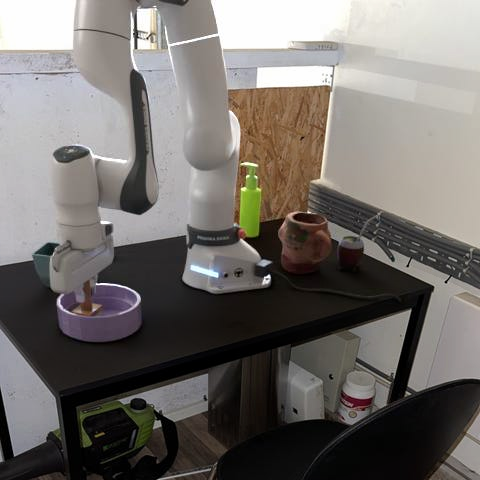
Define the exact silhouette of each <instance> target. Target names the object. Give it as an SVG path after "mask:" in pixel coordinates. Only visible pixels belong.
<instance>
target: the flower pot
mask: <svg viewBox="0 0 480 480" xmlns="http://www.w3.org/2000/svg"><path fill="white" fill-rule="evenodd" d="M57 246H60V244H59V243H58V242H54V241H46V242H45V243H43V244H42V245H41V246H40V247H38V248H37V249H36V250H34V251H33V252H32V253H31V257H32V261H33V264H34V267H35V270H36V271H35V272H36V273H37V275H38V278H39V279H40V281H41V282H42V283H43V284H44V285H45V286H46V287H47V288H50V289H51V285H50V259H51V256H52V255H53V253H54V251H55V248H56V247H57Z"/></svg>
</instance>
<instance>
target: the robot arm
mask: <svg viewBox="0 0 480 480" xmlns="http://www.w3.org/2000/svg"><path fill="white" fill-rule="evenodd" d="M152 9H155V10H156V12H157V13H158V15H159V16H160V18H161V20H162V23H163V26H164V30H165V37H166V42H167V47H168V52H169V57H170V61H171V65H172V71H173V75H174V80H175V87H176V93H177V104H178V114H179V123H180V131H181V139H182V152H183V156H184V158H185V159H186V161H187V162H188V164H189V165H190V166H191V169H190V177H189V178H190V179H189V185H188V222H187V223H186V231H185V233H186V234H185V235H186V237H185V239H186V240H185V241H186V245H187V254H186V260H185V265H184V271H183V274H182V281H183V282H184V283H185V284H186V285H188V286H190V287H192V288H194V289H199V290H203V291H207V293H211V294H215V295H220V294H227V293H235V292H241V291H249V290H257V289H258V290H259V289H266V288H269V287H270V286H271V283H272V277H271V274H275V275H276V276H279V277H280V278H282V279H283V280H285V282H286V283H287V284H288V286H289V287H291V288H293V289H295V290H298V291H305V292H314V293H329V294H335V295H340V296H344V297H349V298H353V299H359V300H367V301H370V300H371V301H373V300H378V299H383V298H393V299H395V300H396V301H397V302H402V299H401V298H400V297H399V296H398V295H395V294H393V293H383V294H378V295H373V296H368V295H367V296H366V295H358V294H353V293H348V292H344V291H339V290H335V289H329V288H305V287H300V286H298V285H295V284H293V283H292V281H290V279H289V278H288V277H287V276H286V275H284V274H282V273H281V272H279V271H277V270H275V269H273V261H271V260H267V259H262V257H261V255H260V254H259V252H258V251H257V250H256V249H255V248H254V247H253V246H252V245H250V244H248V242H247V241H245V240H244V239H246V238H248V237H247V236H246V235H247V233H246V232H245V230H244V229H242V228H241V226H240V224H238V222H235V211H236V209H235V208H236V189H237V181H238V170H239V158H240V148H241V147H240V146H241V125H240V122H239V120H238V118H237V116H236V114H234V113H233V112H232V111H231V110H230V105H229V95H228V94H229V93H228V75H227V74H228V73H227V69H226V62H225V58H224V51H223V46H222V40H221V33H220V29H219V23H218V19H217V16H216V12H215V8H214V4H213V1H212V0H75V5H74V14H73V15H74V17H73V29H72V31H73V33H72V53H73V61H74V65H75V66H76V69H77V71H78V73H79V74H80V75H81V77H82V78H83V79H84V81H85V82H87V84H89V85H90V86H92V87H93V88H94V89H96V90H98V91H100V92H102V93H103V94H105V95H107V96H109V97H110V98H111V99H113V100H114V101H115V102H117V104H118V105H119V106H120V107H121V109H122V111H123V113H124V117H125V125H126V137H127V148H128V159H127V160H124V159H123V160H122V159H115V158H108V157H102V156H98V155H95V154H93V152H92V149H90V148H89V147H87V146H85V145H83V144H68V145H63V146H60V147H59V148H57V149H56V150H54V151H53V152H52V154H51V160H50V184H51V195H52V201H53V202H54V204H55V209H56V210H55V211H56V212H55V217H54V218H55V226H56V227H55V228H56V233H57V235H56V236H57V243H59V244H60V246H57V247H56V248H55V251H54V253H53V255H52V256H51V259H50V285H51V288H50V289H51V290H52V292H53V293H56V294H59V295H61V294H69V293H71V292H72V291H74V293H75V294H76V300H77V302H81V303H83V302H85V301H86V300H87V293H85V292H84V291H83V289H82V288H83V287H84V286H83V283H85V282H86V281H88V280H89V279H90V288H91V296H92V295H94V294H95V293H96V287H95V286H96V284H98V283H97V282H98V278H99V273H100V272H102V271H103V270H105V269H106V268H107V267H109V266H111V265H112V264H113V260H114V259H115V244H114V236H113V233H114V223H112V222H109V221H105V220H102V217H101V216H102V215H101V213H100V211H99V208H100V209H101V208H102V209H107V210H114V211H115V210H116V211H122V212H124V213H128V214H132V215H137V216H141V215H143V214H145V213H147V212H148V211H150V210H151V209H152V208H153V207H154V206H155V205H156V203H157V202H158V198H159V189H160V188H159V179H158V173H157V167H156V163H155V155H154V154H155V153H154V141H153V140H154V139H153V129H152V116H151V107H150V97H149V91H148V90H149V89H148V86H147V82H146V79H145V76H144V74H143V73H141V72H140V71H139V70H138V68H137V66H136V63H135V59H134V55H133V25H134V19H135V15H136V13H137V12H140V11H147V10H152ZM394 384H395V382H394V381H392V382H390V384H389V389H388V394H387V399H386V404H385V406H386V405H387V404H389V405H390V403H391V397H392V392H393V388H394Z"/></svg>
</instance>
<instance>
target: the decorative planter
mask: <svg viewBox="0 0 480 480" xmlns="http://www.w3.org/2000/svg"><path fill="white" fill-rule="evenodd" d="M277 232H278V233H277V234H278V235H277V236H278V238H279V240H280V241H281V243H282V250H281V256H280V263H281V266H282V269H284V270H285V271H287V272H288V273H291V274H295V275H303V274H304V275H305V274H310V273H313V272H315V271H318V269H319V267H320V264H321V262H322V261H323V260H324V259H326V258H328V257H329V256H330V254H331V252H332V250H333V249H332V248H333V246H332V235H331V231H330V229H329V223H328V219H327V218H326V217H325V216H324V215H323V214H321V213H315V212H305V211H294V212H290V213H288V214H287V215H286V217H285V219H284V221H283V223H282V225H281V226H280V228H279V229H278V231H277Z"/></svg>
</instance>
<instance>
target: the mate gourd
mask: <svg viewBox="0 0 480 480" xmlns="http://www.w3.org/2000/svg"><path fill="white" fill-rule="evenodd" d="M377 217H379V214H376V215H374V216H373V217H370V218H369V219H368V220H366V221H365V223H364V225H363V227H362V229H361V231H360V233H359V235H358V236H355V235H354V236H353V235H347V236H343V237H341V239H340V240H339V242H338V245H337V248H336V255H337V259H338V266H339V267H337V270H338V271H344V270H349V271H350V272H352V273H357V270H356V268H358V266H359V265H358V264H359V263H360V262H361V260H362V259H363V256H364V252H365V244H364V241H363V239H362V235H363V234H364V232H365V230H366V229H367V227H368V225H369V223H371V222H372V220H374V219H376V218H377Z"/></svg>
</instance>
